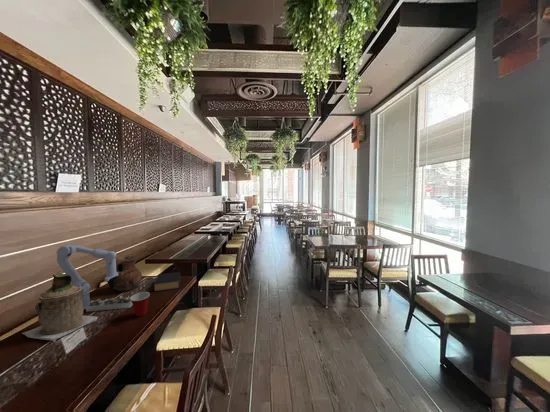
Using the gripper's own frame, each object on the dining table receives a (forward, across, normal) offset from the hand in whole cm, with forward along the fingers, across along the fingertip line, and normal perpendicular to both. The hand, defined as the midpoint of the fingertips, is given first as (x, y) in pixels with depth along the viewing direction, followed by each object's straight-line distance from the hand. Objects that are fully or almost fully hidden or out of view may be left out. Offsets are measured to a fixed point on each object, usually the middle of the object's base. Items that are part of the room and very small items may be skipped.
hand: (112, 288), depth 167 cm
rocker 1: (+6, -8, +6) cm, 12 cm away
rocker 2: (+6, -8, -2) cm, 11 cm away
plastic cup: (+11, -23, -26) cm, 36 cm away
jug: (+11, +28, +2) cm, 30 cm away
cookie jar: (+11, -29, +13) cm, 34 cm away
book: (+11, +28, -29) cm, 42 cm away
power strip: (+10, -7, -2) cm, 13 cm away
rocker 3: (+6, -8, -10) cm, 15 cm away
